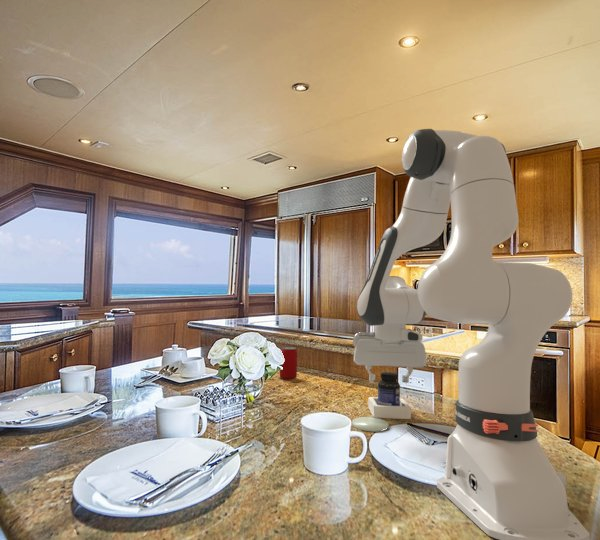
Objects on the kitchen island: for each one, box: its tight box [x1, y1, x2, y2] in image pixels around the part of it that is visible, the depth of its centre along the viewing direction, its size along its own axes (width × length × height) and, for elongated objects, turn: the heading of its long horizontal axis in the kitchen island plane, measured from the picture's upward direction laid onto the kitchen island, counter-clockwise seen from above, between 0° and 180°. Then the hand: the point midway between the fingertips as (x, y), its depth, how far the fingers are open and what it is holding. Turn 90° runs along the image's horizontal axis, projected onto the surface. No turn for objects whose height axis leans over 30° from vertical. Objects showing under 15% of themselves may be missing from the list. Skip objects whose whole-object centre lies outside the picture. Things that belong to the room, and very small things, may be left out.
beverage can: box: [279, 346, 298, 380], centre depth 154 cm, size 7×7×12 cm
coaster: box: [351, 416, 389, 433], centre depth 99 cm, size 9×9×1 cm
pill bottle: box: [377, 371, 401, 406], centre depth 111 cm, size 6×6×11 cm
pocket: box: [367, 396, 412, 420], centre depth 110 cm, size 10×10×3 cm
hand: (388, 381), depth 111 cm, fingers open, 8 cm apart
